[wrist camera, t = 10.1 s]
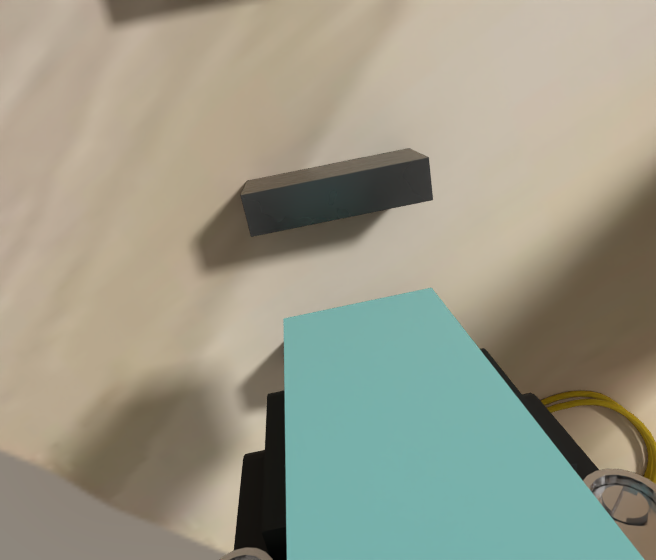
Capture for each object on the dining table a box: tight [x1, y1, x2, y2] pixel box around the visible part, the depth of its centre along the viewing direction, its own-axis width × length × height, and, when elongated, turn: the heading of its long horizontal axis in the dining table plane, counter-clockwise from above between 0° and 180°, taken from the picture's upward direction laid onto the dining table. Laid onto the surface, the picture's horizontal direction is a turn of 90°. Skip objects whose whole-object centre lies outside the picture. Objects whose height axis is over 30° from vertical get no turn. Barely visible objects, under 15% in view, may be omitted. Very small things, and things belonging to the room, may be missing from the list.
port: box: [241, 148, 433, 237], centre depth 20 cm, size 7×9×3 cm
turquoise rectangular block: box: [284, 288, 644, 560], centre depth 10 cm, size 4×5×8 cm
